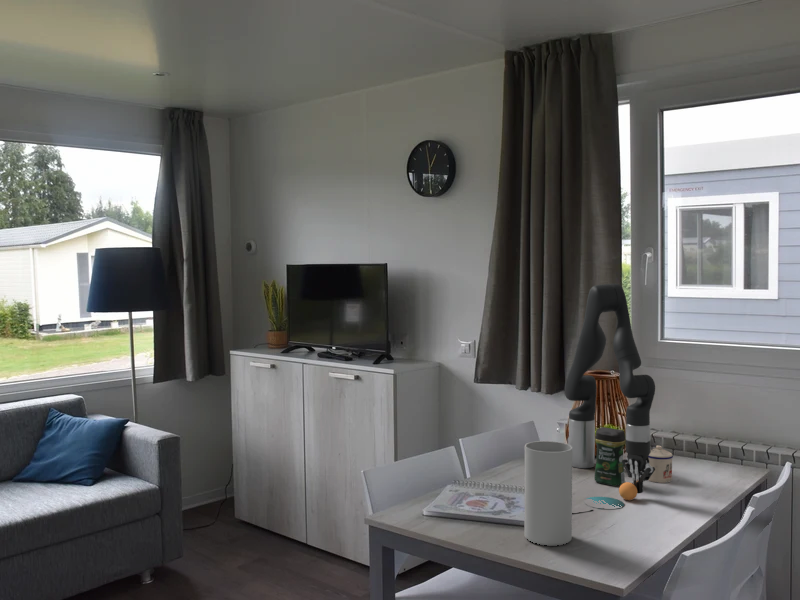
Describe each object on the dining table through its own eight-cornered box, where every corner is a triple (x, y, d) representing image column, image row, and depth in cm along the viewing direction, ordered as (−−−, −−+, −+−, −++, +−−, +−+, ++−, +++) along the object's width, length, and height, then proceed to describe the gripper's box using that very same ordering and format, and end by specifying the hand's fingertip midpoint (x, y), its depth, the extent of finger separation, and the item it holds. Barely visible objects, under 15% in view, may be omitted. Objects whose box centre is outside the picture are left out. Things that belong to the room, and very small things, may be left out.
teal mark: (576, 500, 232) (576, 499, 232) (606, 495, 236) (606, 494, 236) (600, 511, 221) (600, 510, 221) (632, 506, 225) (632, 505, 225)
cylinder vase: (541, 550, 191) (542, 454, 190) (515, 534, 202) (515, 443, 201) (581, 542, 196) (581, 449, 195) (553, 527, 207) (554, 439, 206)
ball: (626, 497, 235) (613, 496, 233) (630, 480, 235) (617, 479, 233) (639, 503, 230) (626, 501, 228) (642, 486, 231) (629, 484, 228)
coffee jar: (591, 482, 250) (591, 428, 250) (601, 477, 257) (601, 424, 256) (618, 488, 244) (618, 432, 243) (628, 482, 250) (628, 428, 250)
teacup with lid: (668, 484, 248) (668, 450, 247) (641, 480, 253) (641, 446, 252) (677, 476, 257) (678, 443, 257) (651, 472, 263) (651, 440, 262)
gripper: (614, 435, 237) (614, 488, 238) (643, 443, 225) (643, 500, 226) (632, 433, 240) (633, 485, 241) (662, 441, 228) (662, 496, 229)
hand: (638, 492), depth 233 cm, fingers closed
